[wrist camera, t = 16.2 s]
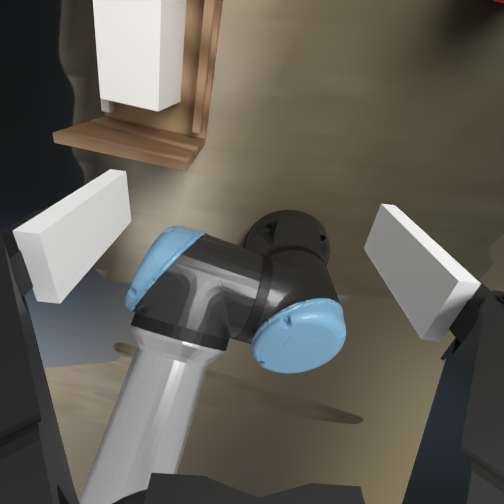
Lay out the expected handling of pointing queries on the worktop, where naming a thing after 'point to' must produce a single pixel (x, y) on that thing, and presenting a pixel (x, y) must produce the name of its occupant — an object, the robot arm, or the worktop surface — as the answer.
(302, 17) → the worktop surface
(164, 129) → the facing shelf
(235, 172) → the worktop surface
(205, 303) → the robot arm
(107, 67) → the product carton
